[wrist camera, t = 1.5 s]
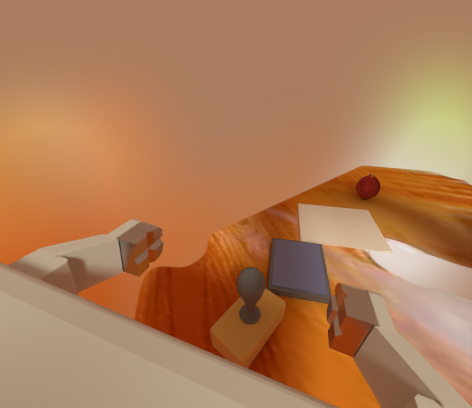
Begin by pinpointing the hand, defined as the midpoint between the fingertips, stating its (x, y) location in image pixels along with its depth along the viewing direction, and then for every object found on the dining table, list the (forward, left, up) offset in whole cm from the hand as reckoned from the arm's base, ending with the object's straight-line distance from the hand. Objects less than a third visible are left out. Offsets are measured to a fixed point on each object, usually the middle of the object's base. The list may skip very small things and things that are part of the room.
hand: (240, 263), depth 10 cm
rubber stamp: (+1, -10, -24) cm, 27 cm away
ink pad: (-6, -23, -24) cm, 34 cm away
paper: (-16, -39, -24) cm, 49 cm away
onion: (-26, -54, -24) cm, 65 cm away
